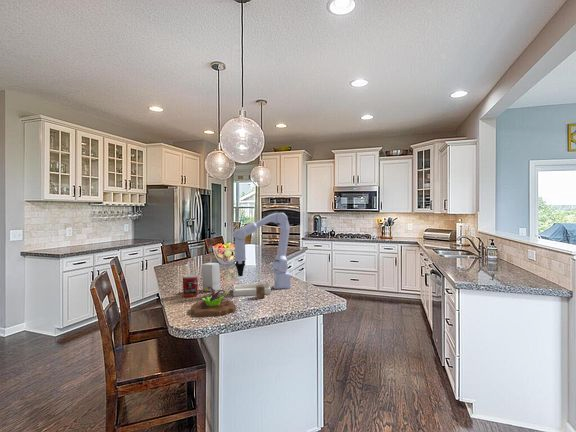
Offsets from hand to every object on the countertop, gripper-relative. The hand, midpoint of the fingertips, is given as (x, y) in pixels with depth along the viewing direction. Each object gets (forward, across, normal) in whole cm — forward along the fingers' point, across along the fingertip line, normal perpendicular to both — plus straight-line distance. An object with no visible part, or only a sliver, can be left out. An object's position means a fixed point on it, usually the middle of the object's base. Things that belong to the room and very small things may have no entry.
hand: (240, 274), depth 175 cm
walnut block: (+10, +13, +10) cm, 20 cm away
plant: (+10, +30, -12) cm, 34 cm away
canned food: (+10, +2, -27) cm, 29 cm away
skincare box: (+10, -8, -17) cm, 21 cm away
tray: (+10, 0, +6) cm, 12 cm away
